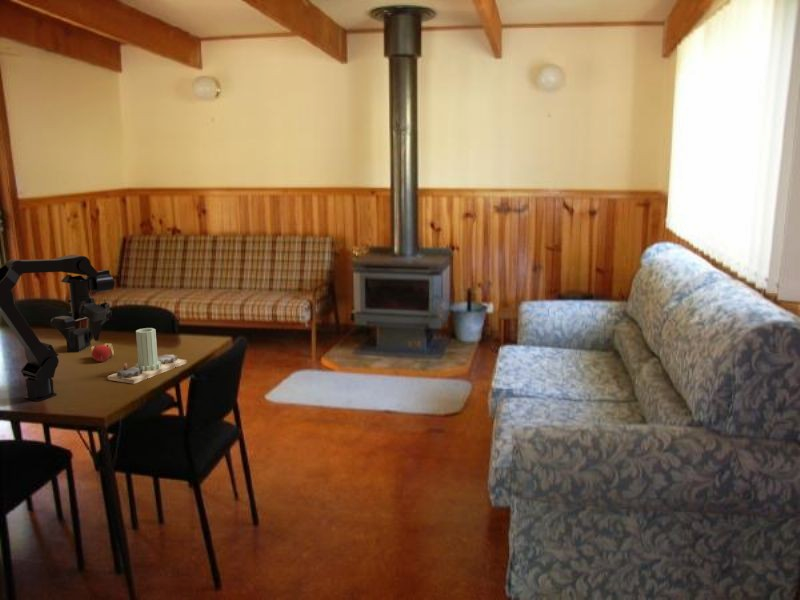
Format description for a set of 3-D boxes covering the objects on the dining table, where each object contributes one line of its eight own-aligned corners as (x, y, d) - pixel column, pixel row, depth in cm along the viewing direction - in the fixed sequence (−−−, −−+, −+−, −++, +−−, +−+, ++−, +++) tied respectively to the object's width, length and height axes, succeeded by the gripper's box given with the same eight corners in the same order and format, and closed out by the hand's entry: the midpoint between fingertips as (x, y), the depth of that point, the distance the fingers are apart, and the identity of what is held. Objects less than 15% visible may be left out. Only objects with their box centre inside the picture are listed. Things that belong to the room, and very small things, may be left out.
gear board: (134, 383, 214) (132, 369, 213) (107, 379, 218) (106, 365, 217) (186, 363, 237) (185, 350, 236) (162, 359, 241) (161, 347, 240)
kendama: (93, 355, 252) (86, 361, 235) (95, 338, 252) (89, 343, 235) (115, 357, 255) (110, 363, 238) (117, 340, 255) (113, 346, 237)
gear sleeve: (158, 370, 224) (155, 332, 221) (132, 371, 223) (129, 333, 220) (163, 363, 232) (161, 327, 229) (139, 364, 231) (136, 327, 228)
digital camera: (81, 352, 251) (80, 334, 250) (67, 352, 251) (65, 334, 250) (94, 345, 261) (92, 327, 260) (80, 345, 261) (78, 327, 260)
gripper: (74, 302, 197) (79, 354, 200) (122, 292, 214) (126, 339, 217) (47, 300, 202) (52, 350, 205) (96, 289, 218) (100, 336, 221)
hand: (84, 344), depth 212 cm, fingers open, 9 cm apart
